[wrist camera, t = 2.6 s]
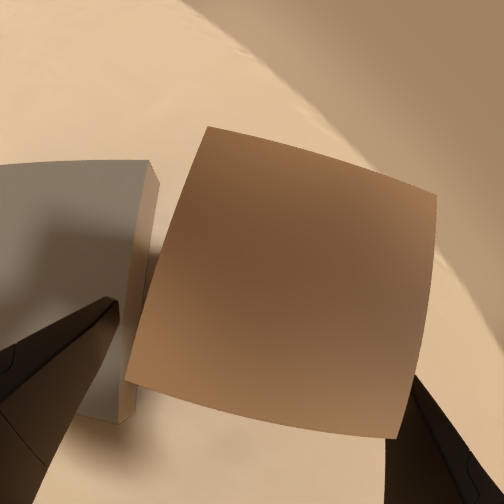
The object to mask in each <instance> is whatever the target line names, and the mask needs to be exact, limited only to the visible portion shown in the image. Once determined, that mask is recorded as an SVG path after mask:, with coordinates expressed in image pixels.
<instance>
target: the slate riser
mask: <svg viewBox="0 0 504 504" xmlns="http://www.w3.org/2000/svg"><path fill="white" fill-rule="evenodd" d="M159 186H160V183H159V181H158V178H157V176H156V174H155V172H154V170H153V168H152V166H151V163H150V161H149V160H82V161H55V162H36V163H21V164H8V165H0V350H2V349H4V348H6V347H8V346H10V345H12V344H14V343H16V342H18V341H20V340H21V339H23V338H25V337H27V336H29V335H31V334H33V333H35V332H37V331H38V330H40V329H42V328H44V327H46V326H48V325H50V324H52V323H54V322H56V321H58V320H59V319H61V318H63V317H65V316H67V315H69V314H71V313H73V312H75V311H77V310H79V309H81V308H83V307H85V306H87V305H89V304H91V303H92V302H94V301H96V300H98V299H100V298H102V297H104V296H109V297H112V298H115V299H117V300H118V302H119V311H120V323H119V326H118V328H117V331H116V333H115V335H114V338H113V340H112V342H111V345H110V347H109V349H108V352H107V354H106V356H105V359H104V361H103V363H102V365H101V367H100V369H99V371H98V373H97V375H96V377H95V378H94V380H93V382H92V384H91V386H90V387H89V389H88V391H87V393H86V395H85V397H84V398H83V400H82V402H81V404H80V406H79V408H78V410H77V412H76V414H77V415H81V416H85V417H89V418H92V419H96V420H100V421H105V422H109V423H113V424H118V425H119V424H120V423H121V422H123V421H124V420H125V419H127V418H128V417H129V416H131V415H132V414H133V413H135V409H136V384H134V383H132V382H129V381H126V380H124V379H125V375H126V371H127V367H128V363H129V359H130V355H131V351H132V347H133V343H134V340H135V336H136V332H137V329H138V325H139V321H140V318H141V311H142V301H143V292H144V283H145V275H146V267H147V260H148V252H149V245H150V239H151V232H152V226H153V220H154V214H155V208H156V202H157V196H158V191H159Z"/></svg>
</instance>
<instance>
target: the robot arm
mask: <svg viewBox="0 0 504 504" xmlns="http://www.w3.org/2000/svg"><path fill="white" fill-rule="evenodd" d="M119 323H120V311H119V302H118V300H117V299H115V298H112V297H109V296H104V297H102V298H100V299H98V300H96V301H94V302H92V303H91V304H89V305H87V306H85V307H83V308H81V309H79V310H77V311H75V312H73V313H71V314H69V315H67V316H65V317H63V318H61V319H59V320H58V321H56V322H54V323H52V324H50V325H48V326H46V327H44V328H42V329H40V330H38V331H37V332H35V333H33V334H31V335H29V336H27V337H25V338H23V339H21V340H20V341H18V342H16V343H14V344H12V345H10V346H8V347H6V348H4V349H2V350H0V504H32V503H33V501H34V499H35V497H36V494H37V492H38V490H39V488H40V485H41V483H42V481H43V479H44V477H45V474H46V472H47V470H48V468H49V466H50V463H51V461H52V459H53V457H54V455H55V453H56V451H57V449H58V447H59V445H60V443H61V441H62V439H63V437H64V435H65V433H66V431H67V429H68V427H69V425H70V423H71V421H72V419H73V417H74V415H75V414H76V412H77V410H78V408H79V406H80V404H81V402H82V400H83V398H84V397H85V395H86V393H87V391H88V389H89V387H90V386H91V384H92V382H93V380H94V378H95V377H96V375H97V373H98V371H99V369H100V367H101V365H102V363H103V361H104V359H105V356H106V354H107V352H108V349H109V347H110V345H111V342H112V340H113V338H114V335H115V333H116V331H117V328H118V326H119ZM384 504H504V494H503V493H502V492H501V490H500V489H499V488H498V487H497V485H496V484H495V483H494V482H493V480H492V479H491V478H490V477H489V475H488V474H487V473H486V471H485V470H484V469H483V468H482V466H481V465H480V463H479V462H478V461H477V459H476V458H475V456H474V455H473V453H472V452H471V451H470V449H469V448H468V446H467V445H466V443H465V442H464V440H463V439H462V438H461V436H460V435H459V433H458V432H457V430H456V429H455V428H454V426H453V425H452V423H451V422H450V421H449V419H448V418H447V416H446V415H445V414H444V412H443V411H442V410H441V408H440V407H439V405H438V404H437V403H436V401H435V400H434V399H433V397H432V396H431V395H430V393H429V392H428V391H427V389H426V388H425V387H424V385H423V384H422V383H421V381H420V380H419V379H418V377H417V376H416V375H414V379H413V383H412V387H411V391H410V394H409V398H408V402H407V405H406V409H405V412H404V416H403V419H402V422H401V426H400V429H399V432H398V435H397V438H396V439H387V438H385V492H384Z"/></svg>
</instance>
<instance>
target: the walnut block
mask: <svg viewBox="0 0 504 504" xmlns="http://www.w3.org/2000/svg"><path fill="white" fill-rule="evenodd" d="M436 204H437V195H435V194H433V193H430V192H428V191H425V190H422V189H420V188H417V187H415V186H412V185H410V184H407V183H404V182H402V181H399V180H396V179H394V178H391V177H388V176H385V175H382V174H380V173H377V172H374V171H371V170H368V169H365V168H362V167H359V166H356V165H353V164H350V163H347V162H344V161H341V160H337V159H334V158H331V157H328V156H324V155H321V154H318V153H314V152H311V151H307V150H304V149H300V148H297V147H293V146H289V145H286V144H282V143H278V142H274V141H270V140H266V139H262V138H258V137H254V136H250V135H246V134H241V133H237V132H232V131H228V130H223V129H219V128H214V127H209V126H208V127H207V129H206V132H205V134H204V136H203V139H202V141H201V144H200V146H199V149H198V151H197V154H196V156H195V159H194V161H193V164H192V166H191V169H190V171H189V174H188V177H187V179H186V182H185V185H184V187H183V190H182V193H181V195H180V198H179V201H178V203H177V206H176V209H175V212H174V215H173V217H172V220H171V223H170V226H169V229H168V232H167V235H166V238H165V241H164V244H163V247H162V250H161V253H160V256H159V259H158V262H157V265H156V268H155V271H154V274H153V278H152V281H151V284H150V287H149V291H148V294H147V297H146V301H145V304H144V307H143V311H142V314H141V318H140V321H139V325H138V329H137V332H136V336H135V340H134V343H133V347H132V351H131V355H130V359H129V363H128V367H127V371H126V375H125V379H124V380H126V381H129V382H132V383H134V384H137V385H140V386H143V387H145V388H148V389H151V390H154V391H157V392H160V393H163V394H166V395H169V396H172V397H175V398H178V399H181V400H184V401H188V402H191V403H194V404H198V405H201V406H205V407H208V408H212V409H216V410H219V411H223V412H227V413H231V414H235V415H239V416H243V417H247V418H252V419H256V420H261V421H265V422H270V423H275V424H280V425H285V426H291V427H297V428H302V429H308V430H315V431H321V432H328V433H336V434H344V435H353V436H362V437H373V438H387V439H396V438H397V435H398V432H399V429H400V426H401V422H402V419H403V416H404V412H405V409H406V405H407V402H408V398H409V394H410V391H411V387H412V383H413V379H414V375H415V370H416V366H417V361H418V357H419V352H420V347H421V342H422V337H423V331H424V326H425V320H426V314H427V307H428V301H429V293H430V286H431V277H432V268H433V258H434V246H435V230H436V229H435V228H436V207H437V205H436Z"/></svg>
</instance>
